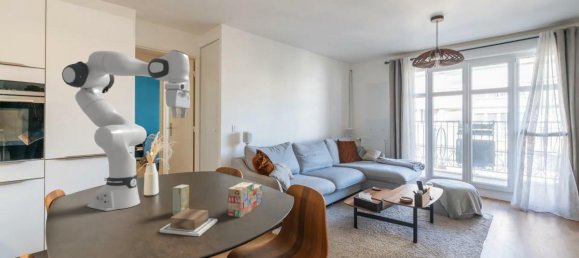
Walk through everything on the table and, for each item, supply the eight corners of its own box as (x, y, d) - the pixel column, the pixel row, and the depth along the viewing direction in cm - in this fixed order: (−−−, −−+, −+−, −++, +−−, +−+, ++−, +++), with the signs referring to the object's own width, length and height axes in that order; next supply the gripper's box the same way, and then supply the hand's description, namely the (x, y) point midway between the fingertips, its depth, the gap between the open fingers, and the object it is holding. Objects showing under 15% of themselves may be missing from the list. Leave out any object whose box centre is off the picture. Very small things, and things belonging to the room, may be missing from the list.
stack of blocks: (251, 201, 133) (251, 177, 132) (262, 203, 131) (262, 178, 130) (227, 216, 113) (227, 188, 112) (240, 217, 111) (240, 189, 110)
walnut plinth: (170, 228, 97) (170, 217, 97) (186, 218, 107) (186, 208, 107) (194, 230, 95) (194, 219, 95) (208, 220, 105) (208, 210, 105)
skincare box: (181, 216, 111) (180, 188, 111) (172, 215, 112) (172, 187, 112) (189, 211, 118) (189, 184, 117) (181, 210, 119) (181, 184, 118)
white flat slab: (159, 232, 96) (159, 229, 96) (182, 218, 109) (182, 215, 109) (199, 236, 92) (199, 233, 92) (217, 221, 106) (217, 218, 106)
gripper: (180, 89, 127) (180, 118, 127) (162, 84, 106) (162, 117, 107) (193, 90, 127) (193, 118, 127) (178, 84, 107) (178, 117, 107)
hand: (179, 118), depth 117 cm, fingers open, 8 cm apart
